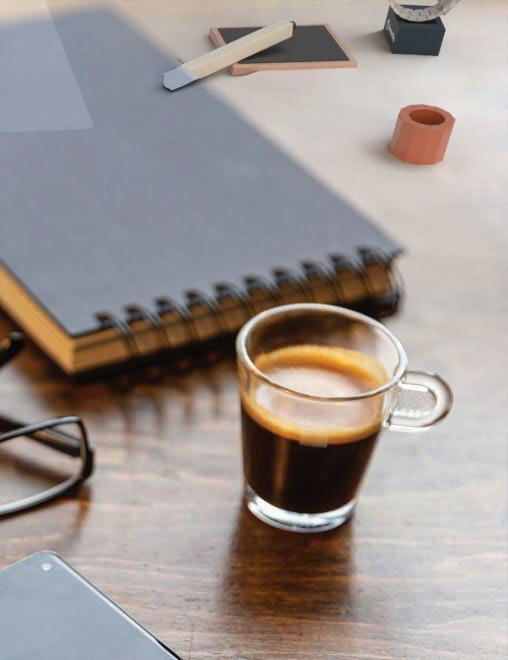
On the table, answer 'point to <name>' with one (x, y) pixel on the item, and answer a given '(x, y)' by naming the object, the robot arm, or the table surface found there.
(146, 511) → the table surface
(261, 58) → the tablet
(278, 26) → the stylus
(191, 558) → the table surface
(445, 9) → the watch
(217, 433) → the table surface
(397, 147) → the pen holder
